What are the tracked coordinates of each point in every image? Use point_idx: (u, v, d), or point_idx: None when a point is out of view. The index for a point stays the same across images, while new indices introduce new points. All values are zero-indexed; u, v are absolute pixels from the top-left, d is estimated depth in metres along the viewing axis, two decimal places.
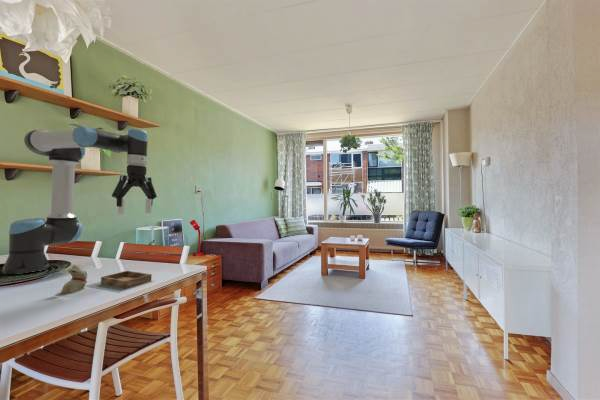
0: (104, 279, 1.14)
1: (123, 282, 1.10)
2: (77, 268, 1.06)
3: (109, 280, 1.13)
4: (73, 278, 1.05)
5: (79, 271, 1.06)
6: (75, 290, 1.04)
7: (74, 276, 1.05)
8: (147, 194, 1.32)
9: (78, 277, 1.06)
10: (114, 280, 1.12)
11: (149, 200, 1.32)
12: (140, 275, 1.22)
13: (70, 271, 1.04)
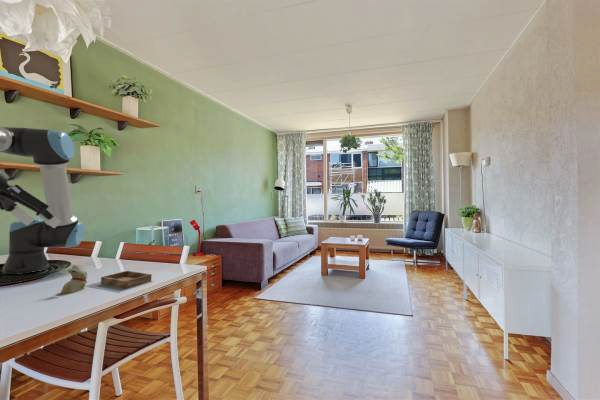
0: (104, 279, 1.14)
1: (123, 282, 1.10)
2: (77, 268, 1.06)
3: (109, 280, 1.13)
4: (73, 278, 1.05)
5: (79, 271, 1.06)
6: (75, 290, 1.04)
7: (74, 276, 1.05)
8: None
9: (78, 277, 1.06)
10: (114, 280, 1.12)
11: None
12: (140, 275, 1.22)
13: (70, 271, 1.04)
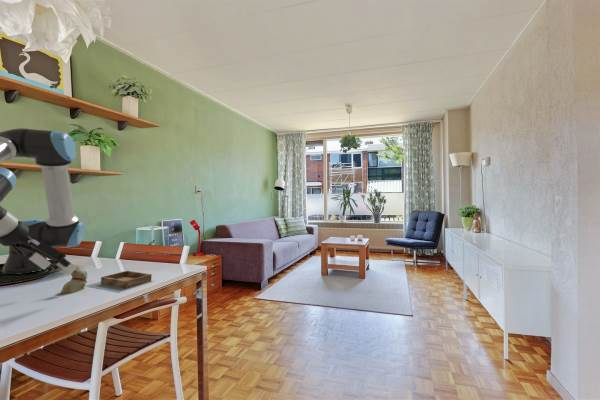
0: (104, 279, 1.14)
1: (123, 282, 1.10)
2: (77, 268, 1.06)
3: (109, 280, 1.13)
4: (73, 278, 1.05)
5: (79, 271, 1.06)
6: (75, 290, 1.04)
7: (74, 276, 1.05)
8: None
9: (78, 277, 1.06)
10: (114, 280, 1.12)
11: None
12: (140, 275, 1.22)
13: None
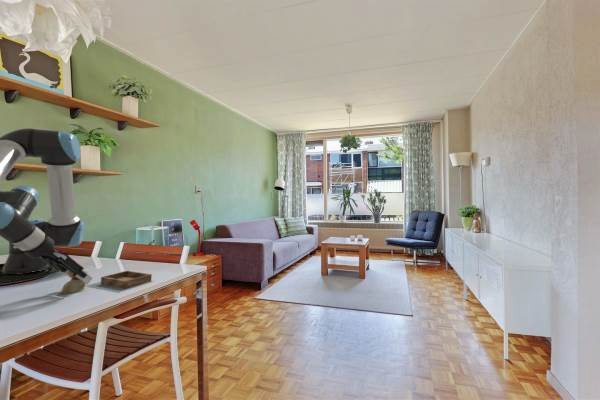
0: (104, 279, 1.14)
1: (123, 282, 1.10)
2: None
3: (109, 280, 1.13)
4: (73, 278, 1.05)
5: None
6: (75, 290, 1.04)
7: None
8: None
9: None
10: (114, 280, 1.12)
11: None
12: (140, 275, 1.22)
13: None
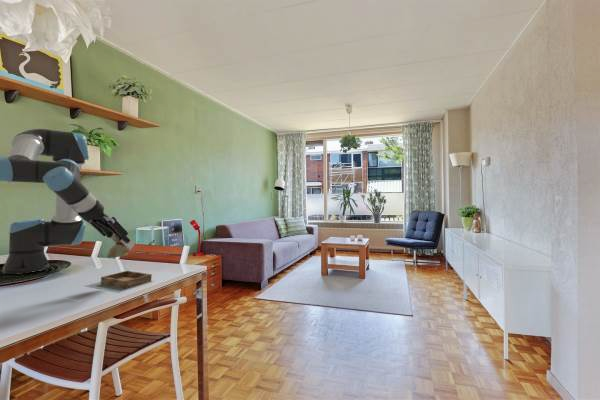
0: (104, 279, 1.14)
1: (123, 282, 1.10)
2: None
3: (109, 280, 1.13)
4: (118, 243, 1.14)
5: None
6: (120, 254, 1.13)
7: (119, 241, 1.14)
8: None
9: None
10: (114, 280, 1.12)
11: None
12: (140, 275, 1.22)
13: (115, 236, 1.13)
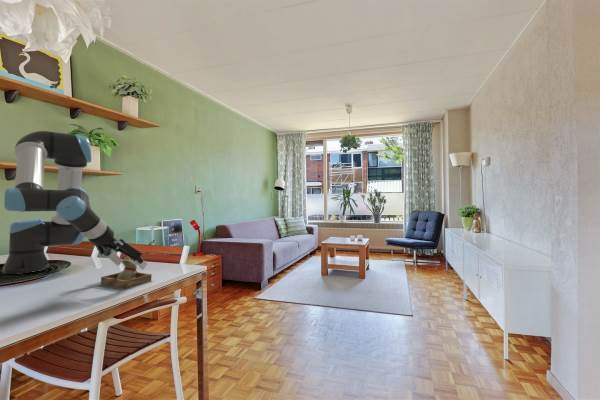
0: (104, 279, 1.14)
1: (123, 282, 1.10)
2: (129, 259, 1.18)
3: (109, 280, 1.13)
4: (126, 268, 1.17)
5: (131, 262, 1.18)
6: (128, 279, 1.16)
7: (127, 266, 1.17)
8: None
9: (130, 267, 1.18)
10: (114, 280, 1.12)
11: None
12: (140, 275, 1.22)
13: (124, 261, 1.16)
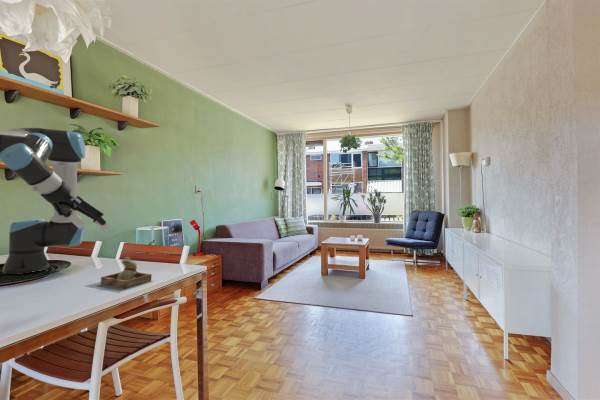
0: (104, 279, 1.14)
1: (123, 282, 1.10)
2: (129, 259, 1.18)
3: (109, 280, 1.13)
4: (126, 268, 1.17)
5: (131, 262, 1.18)
6: (128, 279, 1.16)
7: (127, 266, 1.17)
8: None
9: (130, 267, 1.18)
10: (114, 280, 1.12)
11: None
12: (140, 275, 1.22)
13: (124, 262, 1.16)
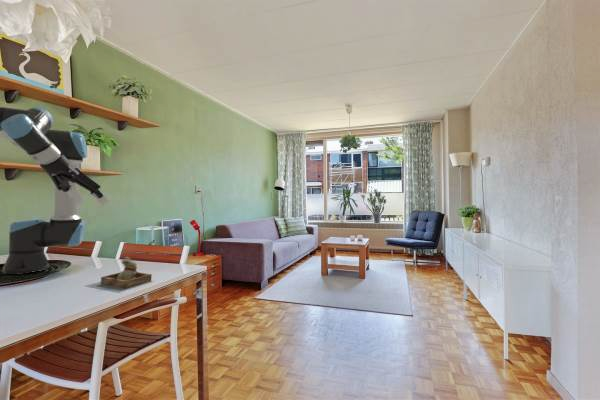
0: (104, 279, 1.14)
1: (123, 282, 1.10)
2: (129, 259, 1.18)
3: (109, 280, 1.13)
4: (126, 268, 1.17)
5: (131, 262, 1.18)
6: (128, 279, 1.16)
7: (127, 266, 1.17)
8: None
9: (130, 267, 1.18)
10: (114, 280, 1.12)
11: None
12: (140, 275, 1.22)
13: (124, 262, 1.16)
